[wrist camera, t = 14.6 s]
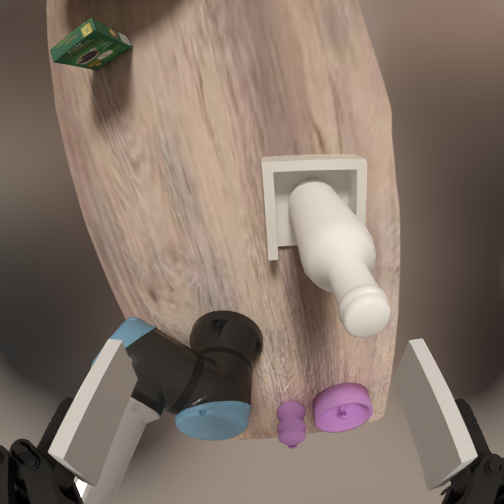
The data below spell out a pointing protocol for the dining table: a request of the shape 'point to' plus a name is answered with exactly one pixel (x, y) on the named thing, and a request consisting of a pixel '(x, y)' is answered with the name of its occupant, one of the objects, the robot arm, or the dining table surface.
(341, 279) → the bottle
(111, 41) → the coffee box
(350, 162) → the bottle rest
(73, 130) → the dining table surface
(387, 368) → the dining table surface
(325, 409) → the container set
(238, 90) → the dining table surface
